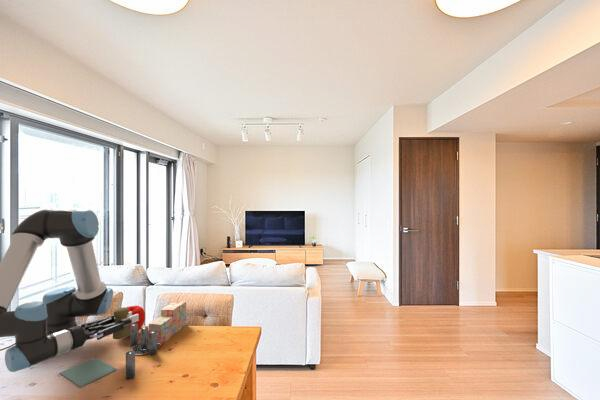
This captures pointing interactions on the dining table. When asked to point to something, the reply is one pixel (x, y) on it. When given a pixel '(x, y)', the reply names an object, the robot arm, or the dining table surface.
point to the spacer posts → (144, 345)
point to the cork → (119, 315)
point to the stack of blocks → (169, 321)
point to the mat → (87, 372)
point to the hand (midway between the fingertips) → (134, 316)
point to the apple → (141, 312)
